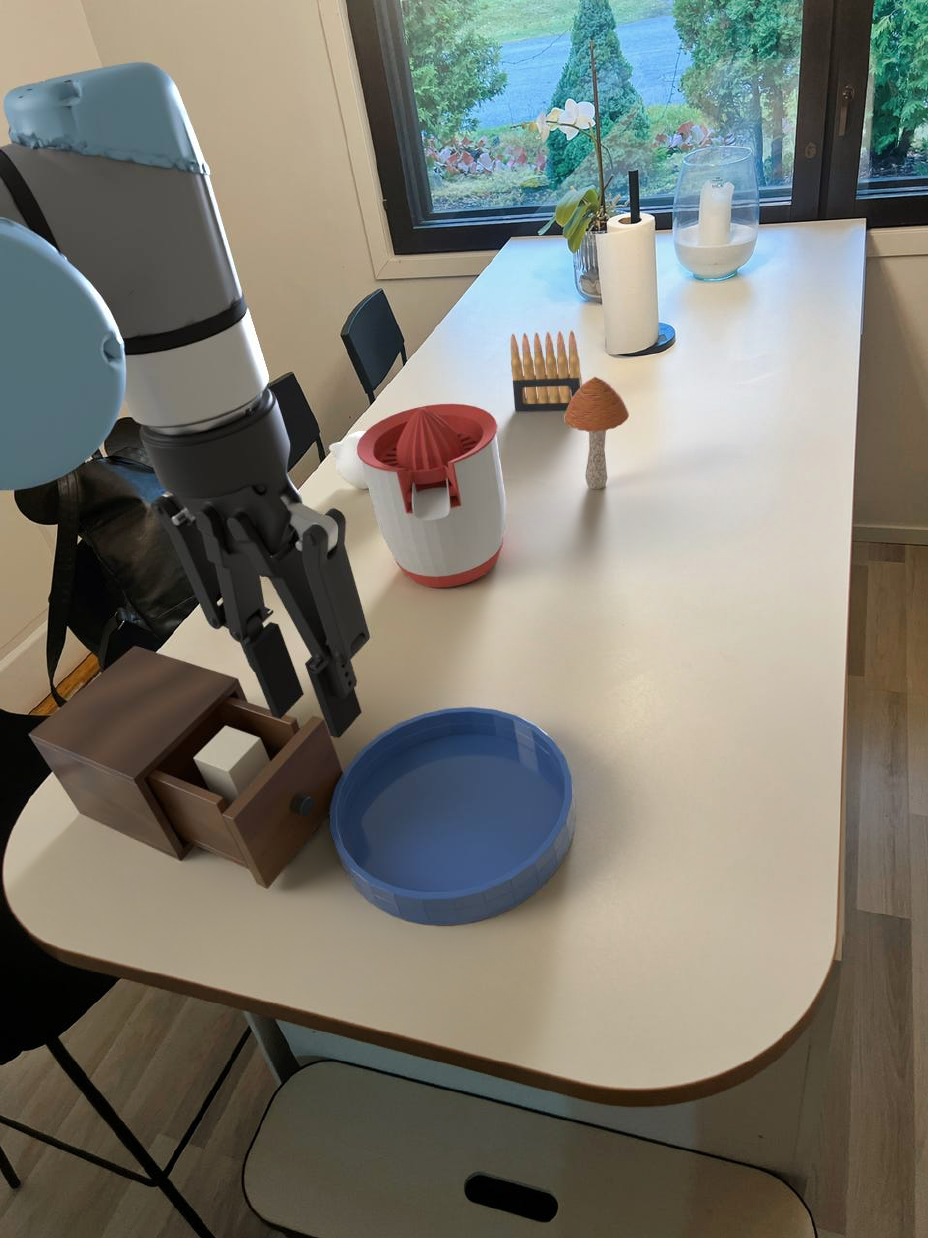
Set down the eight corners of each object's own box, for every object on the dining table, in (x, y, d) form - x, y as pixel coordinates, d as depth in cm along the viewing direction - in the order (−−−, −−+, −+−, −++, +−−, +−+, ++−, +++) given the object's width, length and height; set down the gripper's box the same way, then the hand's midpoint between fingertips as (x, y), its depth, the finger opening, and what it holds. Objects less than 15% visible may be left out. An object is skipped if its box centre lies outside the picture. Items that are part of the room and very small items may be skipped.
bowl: (505, 966, 63) (498, 939, 61) (292, 872, 73) (280, 845, 70) (612, 770, 76) (610, 742, 74) (420, 712, 85) (413, 685, 83)
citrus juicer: (383, 618, 99) (341, 460, 86) (391, 536, 112) (356, 390, 100) (520, 599, 97) (497, 437, 85) (512, 519, 111) (490, 369, 99)
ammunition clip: (585, 404, 134) (579, 327, 127) (583, 409, 133) (576, 332, 125) (517, 406, 137) (508, 331, 130) (514, 411, 136) (505, 336, 129)
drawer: (359, 792, 77) (335, 722, 72) (278, 894, 70) (245, 824, 65) (246, 750, 84) (216, 683, 78) (161, 840, 76) (121, 772, 71)
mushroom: (644, 485, 112) (641, 375, 103) (594, 508, 110) (586, 397, 101) (606, 464, 118) (600, 358, 109) (558, 486, 116) (547, 378, 107)
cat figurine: (413, 416, 117) (329, 419, 120) (405, 487, 114) (318, 488, 117) (429, 449, 126) (350, 451, 128) (421, 516, 122) (340, 517, 125)
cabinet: (272, 760, 83) (238, 678, 77) (180, 861, 75) (133, 779, 69) (174, 723, 90) (134, 645, 84) (79, 813, 82) (27, 734, 76)
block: (256, 831, 74) (228, 771, 70) (222, 816, 76) (192, 757, 71) (285, 797, 77) (260, 737, 72) (252, 784, 79) (225, 725, 74)
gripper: (375, 386, 45) (450, 710, 59) (144, 365, 54) (258, 653, 68) (284, 454, 40) (389, 789, 54) (46, 420, 49) (191, 718, 63)
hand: (316, 713), depth 61 cm, fingers open, 4 cm apart
